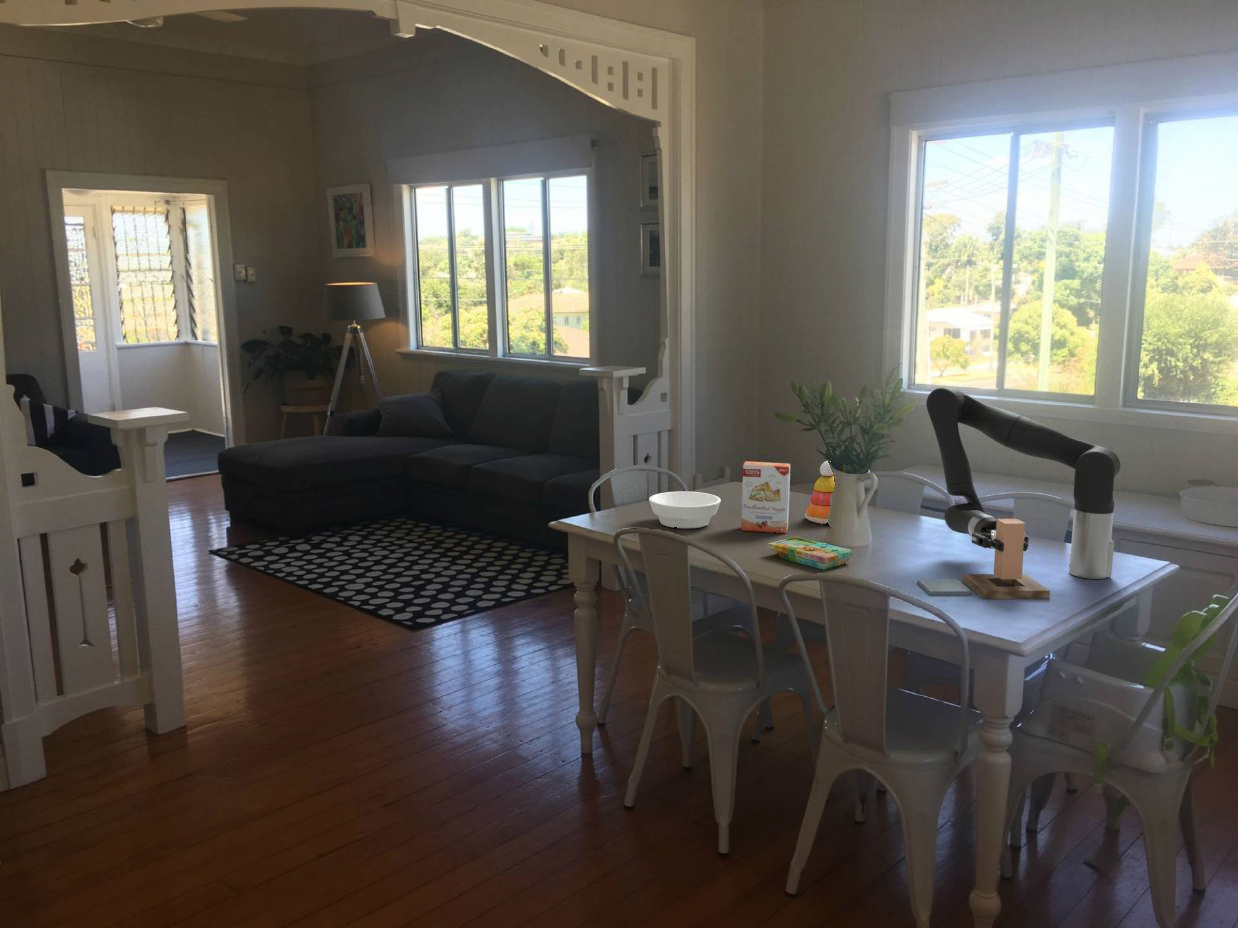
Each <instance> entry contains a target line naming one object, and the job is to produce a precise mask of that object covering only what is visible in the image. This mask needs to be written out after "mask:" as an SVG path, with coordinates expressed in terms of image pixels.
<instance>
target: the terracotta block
mask: <svg viewBox="0 0 1238 928" xmlns="http://www.w3.org/2000/svg"><path fill="white" fill-rule="evenodd" d="M996 519H997V523H996V538H997V539H998V540H1000V541H1001V542H1003V543H1004V551H1003V552H1000V551H998V550H997V549H994V559H993V561H994V563H993V574H995V575H996V576H998V577H999V578H1000V579H1022V574H1023V566H1024V565H1023V564H1024V551H1023V548H1024V535H1025V533H1026V523H1025V522H1024V521H1022V520H1020V519H1018V518H996Z"/></svg>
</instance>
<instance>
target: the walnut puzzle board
mask: <svg viewBox="0 0 1238 928" xmlns="http://www.w3.org/2000/svg"><path fill="white" fill-rule="evenodd" d="M962 583H964V584H965V586H968V587H969V588H970V589H971V591H973V592H975V593H976V594H977V595H978V596H979V597H981V598H982V599H983V600H1001V599H1002V600H1024V599H1025V600H1028V599H1029V600H1031V599H1032V600H1033V599H1034V600H1035V599H1036V600H1038V599H1043V600H1044V599H1045V600H1047V599H1050V598H1051V590H1050V589H1048V588H1047V587H1045V586H1044V585H1042V584H1041V583H1040V582H1038V581H1037V580H1035V579H1034V578H1032V577H1031V576H1029V575H1028V574H1027V573H1022V579H1000V578H999V577H998V576H996V575H995V574H994V573H991V574H990V573H976V574H975V573H972V574H971V573H963V579H962Z"/></svg>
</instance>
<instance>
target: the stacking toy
mask: <svg viewBox="0 0 1238 928" xmlns="http://www.w3.org/2000/svg"><path fill="white" fill-rule="evenodd" d="M828 461H829V460H825V461H824V462H822V464H820V466H819V467H820V468H819V473H820V475H822V476H820V477H819V478H818V479H817V480H816V481H815V483H814V486H813V492H812V493H811V496H810V503H809V505H808V507H807V511H806V512H805V514H804V516H805V518H806V519H807V520H808V521H810V522H813V523H817V524H819V523H820V524H819V525H825V524H826V523H827V522H828V515H829V511H830V498H831V496H832V493H833V491H834V487H835V482H834V477H835V476H834V475H835V473H834V474H833V472H832V470H831V468H830V465H829V463H828Z"/></svg>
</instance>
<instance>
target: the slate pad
mask: <svg viewBox="0 0 1238 928" xmlns="http://www.w3.org/2000/svg"><path fill="white" fill-rule="evenodd" d="M917 584H918V586H920V588H922V589H923V590H924V591H925V590H926V591H925V592H926V593H927V592H928V593H927V594H928V595H929V594H930V595H929V596H971V595H972V590H970V589H969V588H968V587H967V585H964V584H963V582H961V581H960V580H959V579H957V578H951V579H950V578H949V579H948V578H947V579H946V578H943V579H941V578H936V579H935V578H930V579H929V578H928V579H925V578H923V579H922V578H921V579H917Z"/></svg>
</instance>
